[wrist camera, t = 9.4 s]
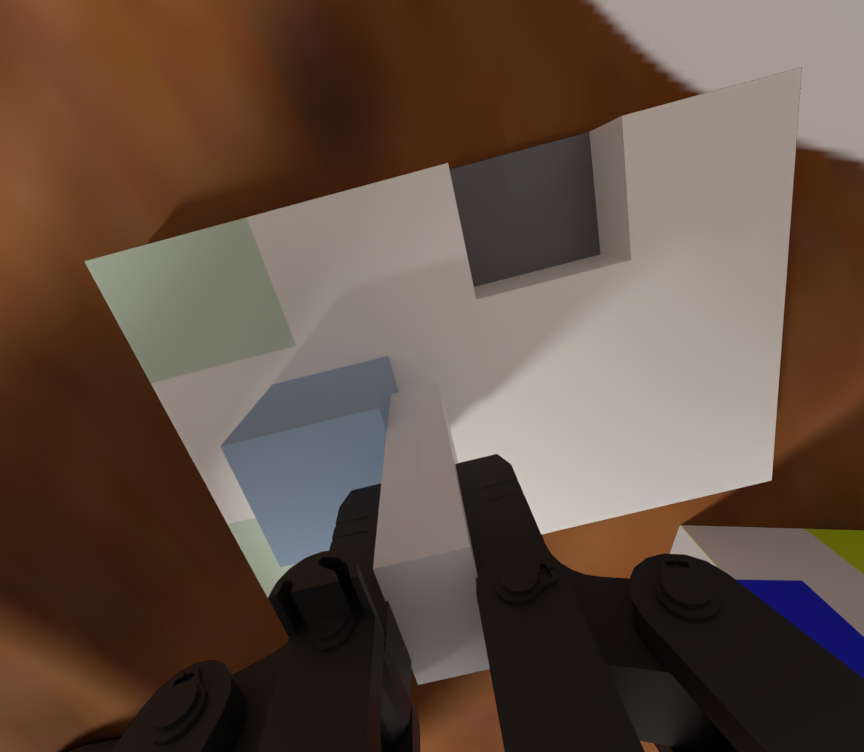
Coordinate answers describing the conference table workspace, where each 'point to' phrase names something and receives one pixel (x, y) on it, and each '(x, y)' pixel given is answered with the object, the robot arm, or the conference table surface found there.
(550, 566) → the robot arm
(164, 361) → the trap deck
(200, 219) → the conference table surface
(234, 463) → the block
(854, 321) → the conference table surface
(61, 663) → the conference table surface
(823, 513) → the conference table surface
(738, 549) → the puzzle toy
